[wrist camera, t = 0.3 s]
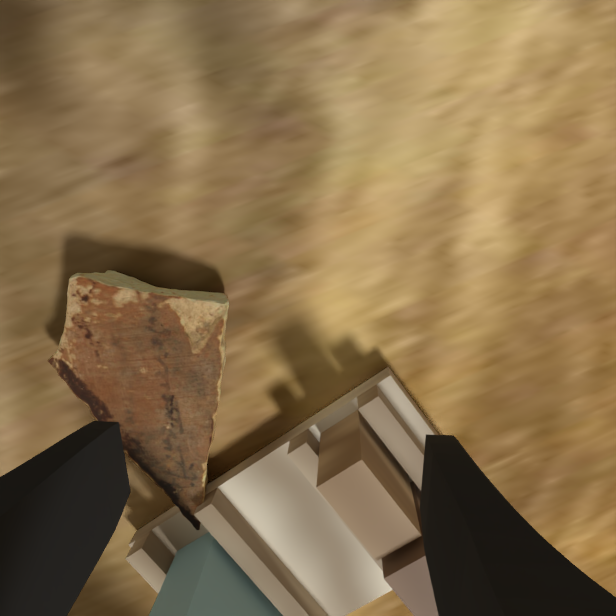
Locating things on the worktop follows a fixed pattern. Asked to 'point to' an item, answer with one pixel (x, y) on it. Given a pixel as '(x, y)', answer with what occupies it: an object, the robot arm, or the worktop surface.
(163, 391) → the shard
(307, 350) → the worktop surface
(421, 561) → the walnut offcut
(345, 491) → the oak offcut
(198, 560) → the teal panel
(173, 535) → the birch rack
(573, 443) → the worktop surface
